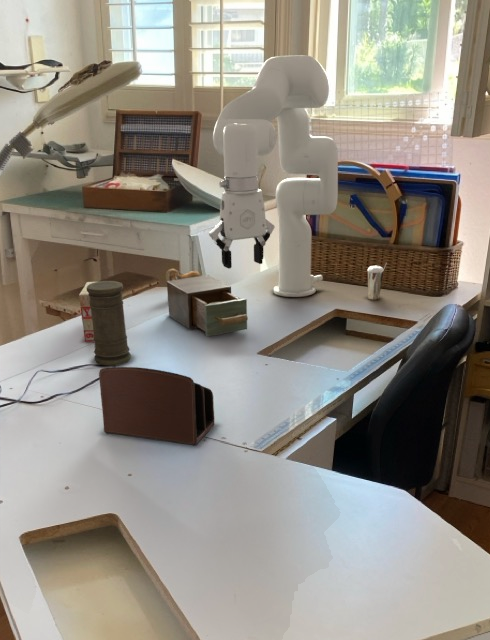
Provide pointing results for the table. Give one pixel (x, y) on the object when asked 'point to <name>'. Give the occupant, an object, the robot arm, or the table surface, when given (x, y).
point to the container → (108, 323)
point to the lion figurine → (180, 275)
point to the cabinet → (181, 295)
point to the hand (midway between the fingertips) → (242, 264)
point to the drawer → (219, 312)
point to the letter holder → (155, 405)
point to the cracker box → (86, 314)
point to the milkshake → (374, 281)
